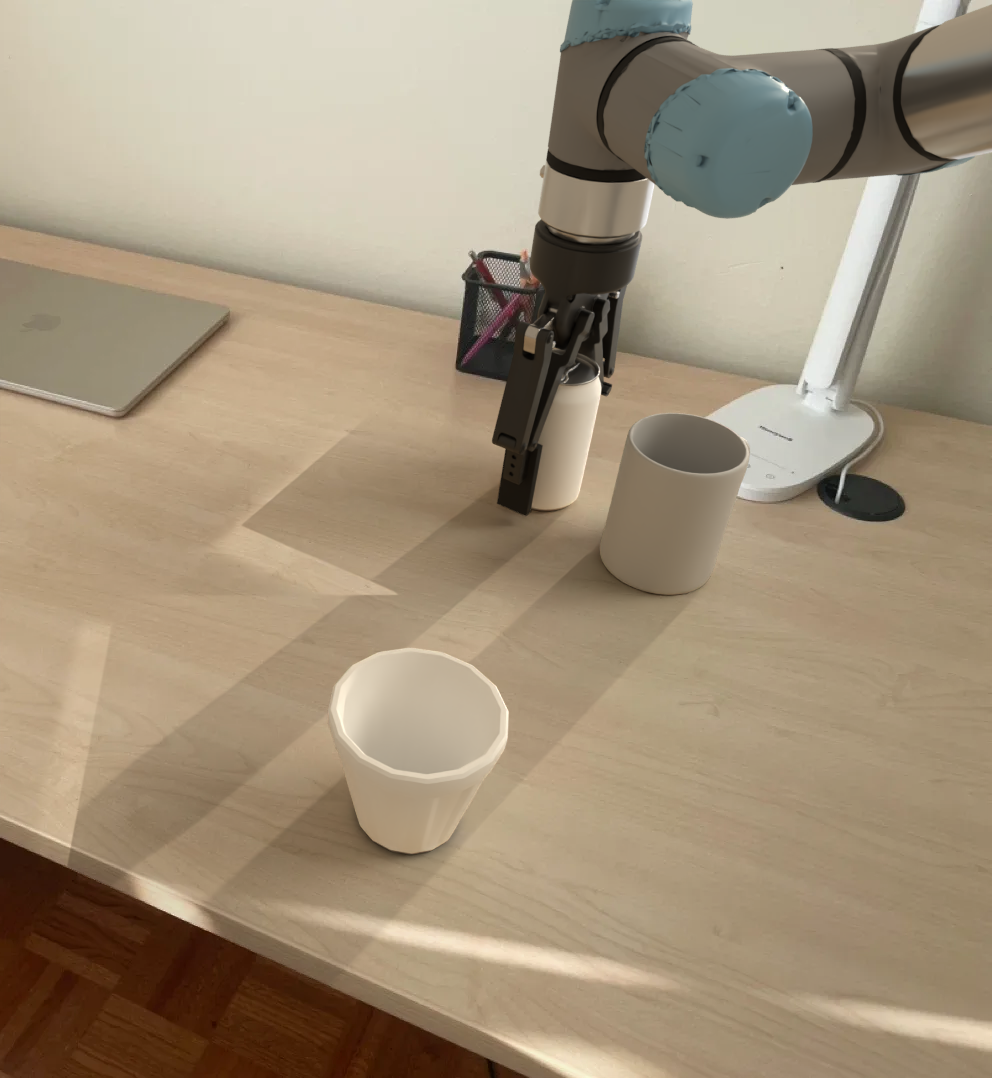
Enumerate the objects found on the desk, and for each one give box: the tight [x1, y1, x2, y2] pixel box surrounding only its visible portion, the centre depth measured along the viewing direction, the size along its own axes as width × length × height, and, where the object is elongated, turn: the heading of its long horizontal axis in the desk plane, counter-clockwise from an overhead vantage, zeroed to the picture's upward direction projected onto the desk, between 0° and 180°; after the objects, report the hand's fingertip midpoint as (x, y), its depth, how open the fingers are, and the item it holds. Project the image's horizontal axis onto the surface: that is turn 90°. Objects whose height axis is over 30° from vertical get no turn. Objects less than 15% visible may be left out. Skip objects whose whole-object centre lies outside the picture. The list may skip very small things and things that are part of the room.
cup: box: [327, 647, 510, 856], centre depth 61 cm, size 10×10×9 cm
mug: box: [599, 412, 751, 596], centre depth 80 cm, size 12×8×11 cm
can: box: [531, 348, 602, 512], centre depth 86 cm, size 6×6×12 cm
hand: (541, 482), depth 90 cm, fingers open, 9 cm apart
